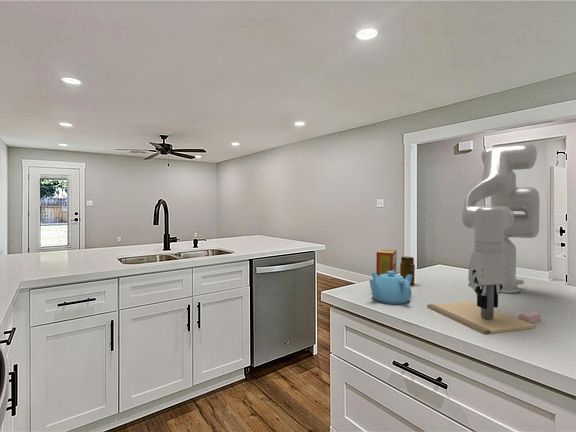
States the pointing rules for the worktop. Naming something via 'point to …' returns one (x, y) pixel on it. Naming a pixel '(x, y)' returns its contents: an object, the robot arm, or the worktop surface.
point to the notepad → (480, 318)
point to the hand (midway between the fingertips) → (487, 306)
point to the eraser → (530, 317)
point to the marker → (489, 303)
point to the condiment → (408, 268)
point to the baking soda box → (386, 261)
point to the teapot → (391, 288)
